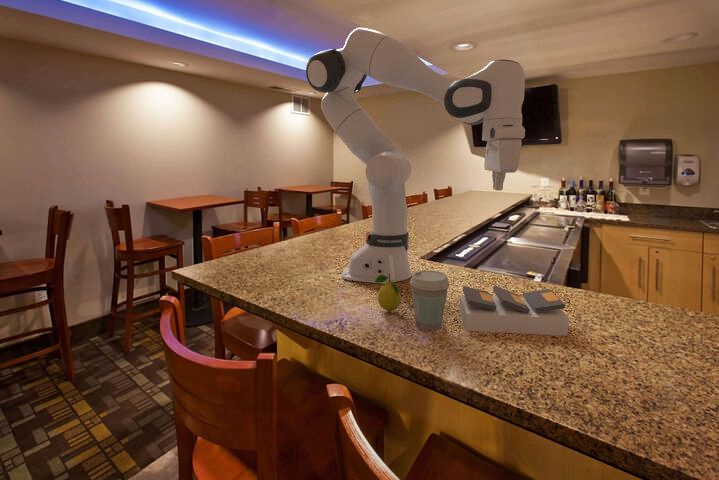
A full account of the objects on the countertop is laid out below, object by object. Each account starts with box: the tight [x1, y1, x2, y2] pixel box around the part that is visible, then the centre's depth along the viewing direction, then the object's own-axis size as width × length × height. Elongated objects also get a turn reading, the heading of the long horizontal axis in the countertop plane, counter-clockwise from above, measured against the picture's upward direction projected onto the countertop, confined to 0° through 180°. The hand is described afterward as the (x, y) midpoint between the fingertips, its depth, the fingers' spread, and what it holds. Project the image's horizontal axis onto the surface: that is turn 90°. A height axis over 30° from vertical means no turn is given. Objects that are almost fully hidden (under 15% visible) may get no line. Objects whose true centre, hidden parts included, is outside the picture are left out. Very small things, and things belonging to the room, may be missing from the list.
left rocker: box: [462, 285, 497, 311], centre depth 85 cm, size 6×9×1 cm, turn 174°
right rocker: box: [522, 288, 566, 312], centre depth 83 cm, size 6×9×1 cm, turn 170°
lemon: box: [375, 274, 403, 313], centre depth 90 cm, size 7×6×10 cm
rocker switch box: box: [458, 294, 570, 337], centre depth 84 cm, size 21×11×4 cm, turn 82°
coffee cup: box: [409, 270, 450, 332], centre depth 82 cm, size 8×9×12 cm
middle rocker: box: [492, 285, 530, 314], centre depth 84 cm, size 6×9×1 cm, turn 172°
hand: (497, 190), depth 92 cm, fingers closed
